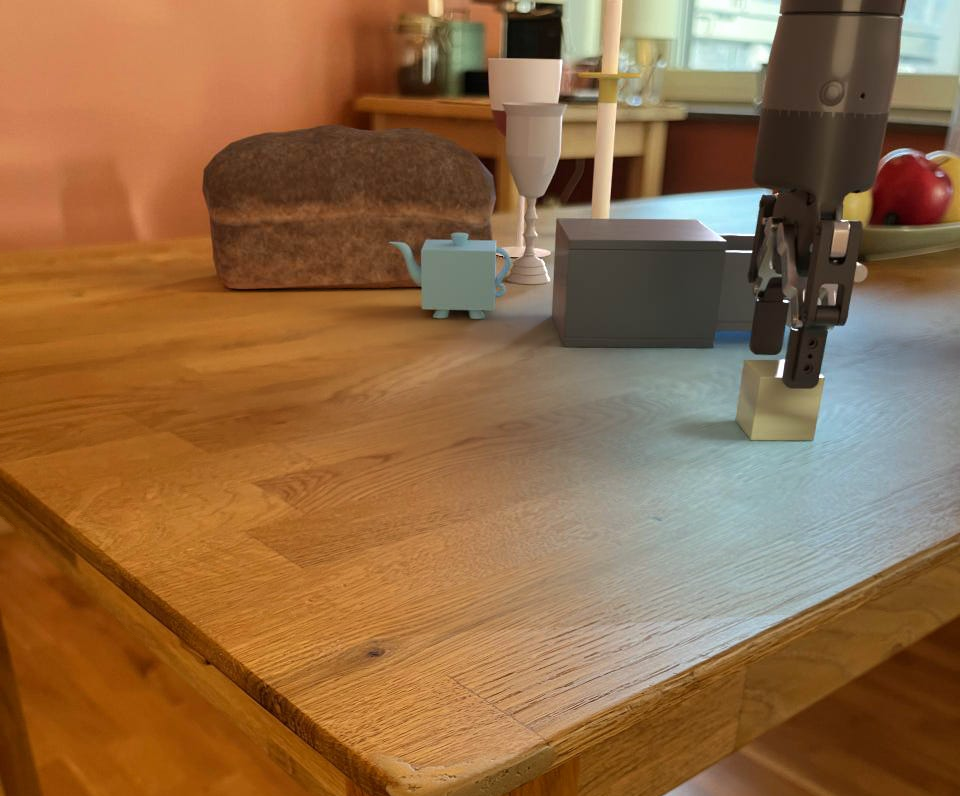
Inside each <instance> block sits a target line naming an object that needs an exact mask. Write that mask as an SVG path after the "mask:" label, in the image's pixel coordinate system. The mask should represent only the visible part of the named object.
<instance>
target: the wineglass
mask: <svg viewBox="0 0 960 796" xmlns="http://www.w3.org/2000/svg"><path fill="white" fill-rule="evenodd" d="M487 60H488V61H487V64H488V65H487V66H488V68H487V69H488V70H487V71H488V72H487V73H488V95H489V102H490V111H491V116H492V119H493V122H494V124H495V127H496V129H497V130H498V132H499V133H500V134H502V136H504V137H505V138H506V119H507V115H506V112H505V110H504V107H503V105H502V103H515V102H531V103H558V104H559V98H560V91H561V83H562V72H563V70H562V69H563V59H560V58H507V57H506V58H505V57H503V58H500V57H499V58H495V57H494V58H491V57H489V58H488V59H487ZM525 199H526V198H525V197H523V196H521V195H520V194H519V193H518V192H517V221H516V245H514V246H506V247H502V248H503V249H504V250H506V251H507V253H508V254H509V255H510V257H519V258H520V257H522V256H523V253H524V252H525V248H526V245H524V237H523V233H524V225H525V219H524V216H525ZM534 253H535V254H536V255H535V256H536V257H538V258H545V257H547V256H550V255H552V252H551V251H550V250H548V249H543V248H537V247H534ZM496 255H499V256H503V255H502V254H500V253H496ZM499 256H498V257H499ZM502 258H505V257H504V256H503V257H502Z"/></svg>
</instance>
